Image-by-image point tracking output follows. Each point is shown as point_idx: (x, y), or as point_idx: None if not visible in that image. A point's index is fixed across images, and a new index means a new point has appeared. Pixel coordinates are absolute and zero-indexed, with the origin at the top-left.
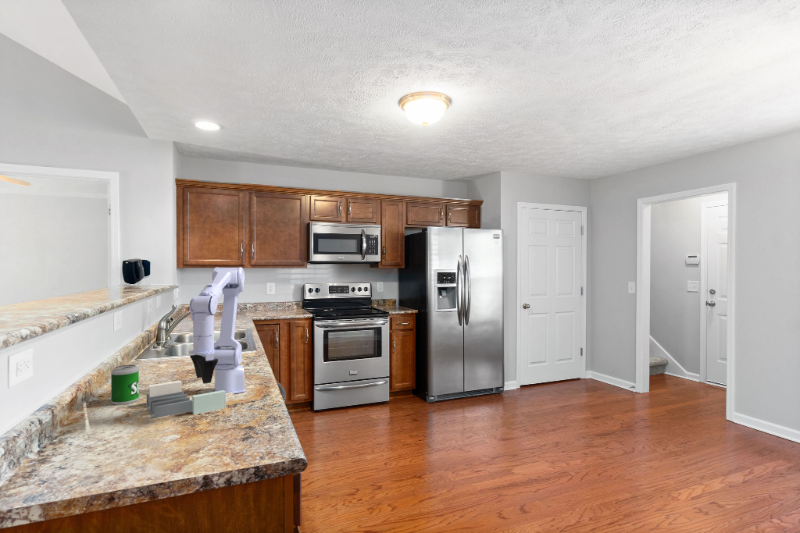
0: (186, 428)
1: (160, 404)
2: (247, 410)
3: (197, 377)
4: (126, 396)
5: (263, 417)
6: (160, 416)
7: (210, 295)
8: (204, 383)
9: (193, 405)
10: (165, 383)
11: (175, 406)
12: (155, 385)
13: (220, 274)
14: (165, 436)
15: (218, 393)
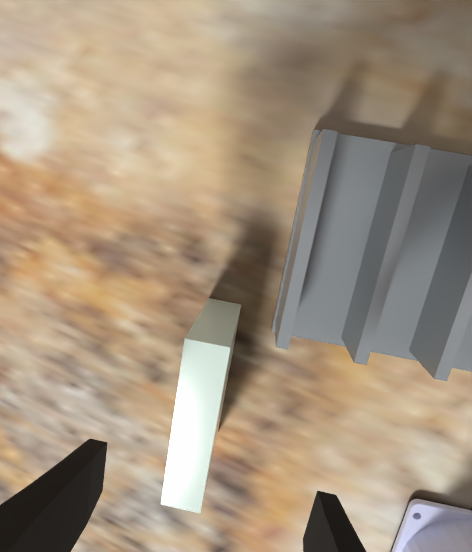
0: (88, 214)
1: (396, 194)
2: (124, 477)
3: (319, 495)
4: None
5: (5, 469)
6: (308, 170)
7: None
8: (84, 443)
9: (208, 319)
10: None
11: (294, 251)
12: None
13: None
14: (51, 106)
15: (166, 466)
